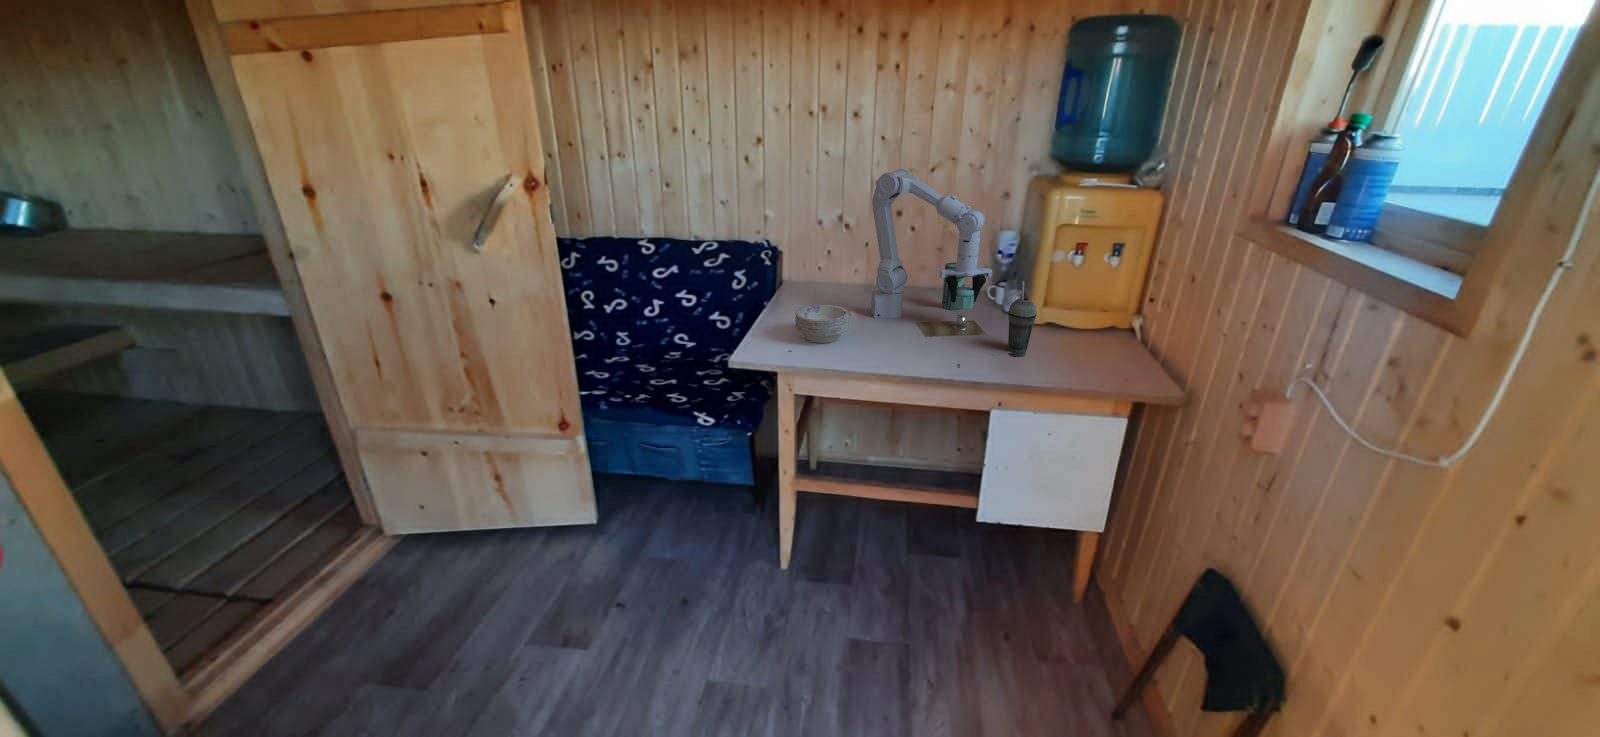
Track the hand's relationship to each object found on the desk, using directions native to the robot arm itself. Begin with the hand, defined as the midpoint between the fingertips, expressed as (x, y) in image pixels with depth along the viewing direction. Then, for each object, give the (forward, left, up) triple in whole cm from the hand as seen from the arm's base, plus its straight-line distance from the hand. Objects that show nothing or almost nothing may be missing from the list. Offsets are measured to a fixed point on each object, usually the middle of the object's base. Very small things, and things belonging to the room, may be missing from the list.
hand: (963, 301), depth 189 cm
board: (-3, 0, -9) cm, 10 cm away
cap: (0, 0, -2) cm, 2 cm away
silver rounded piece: (0, 0, -8) cm, 8 cm away
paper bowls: (-41, -1, -10) cm, 42 cm away
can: (+3, +19, -10) cm, 21 cm away
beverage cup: (+10, -18, -10) cm, 23 cm away
